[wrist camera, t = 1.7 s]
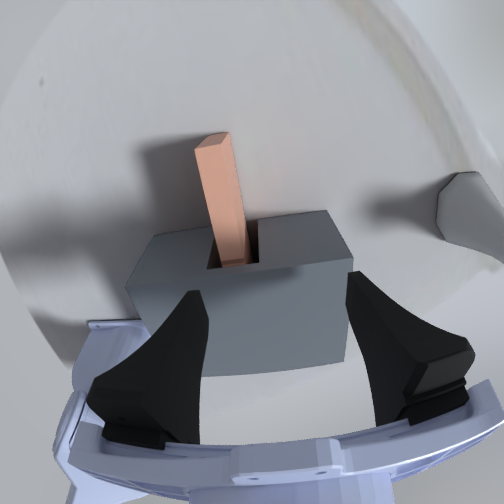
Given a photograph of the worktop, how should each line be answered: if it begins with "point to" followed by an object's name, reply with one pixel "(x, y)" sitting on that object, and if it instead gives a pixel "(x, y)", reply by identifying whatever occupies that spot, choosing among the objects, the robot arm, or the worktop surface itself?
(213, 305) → the block
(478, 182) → the flask
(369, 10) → the worktop surface
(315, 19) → the worktop surface
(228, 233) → the strip
